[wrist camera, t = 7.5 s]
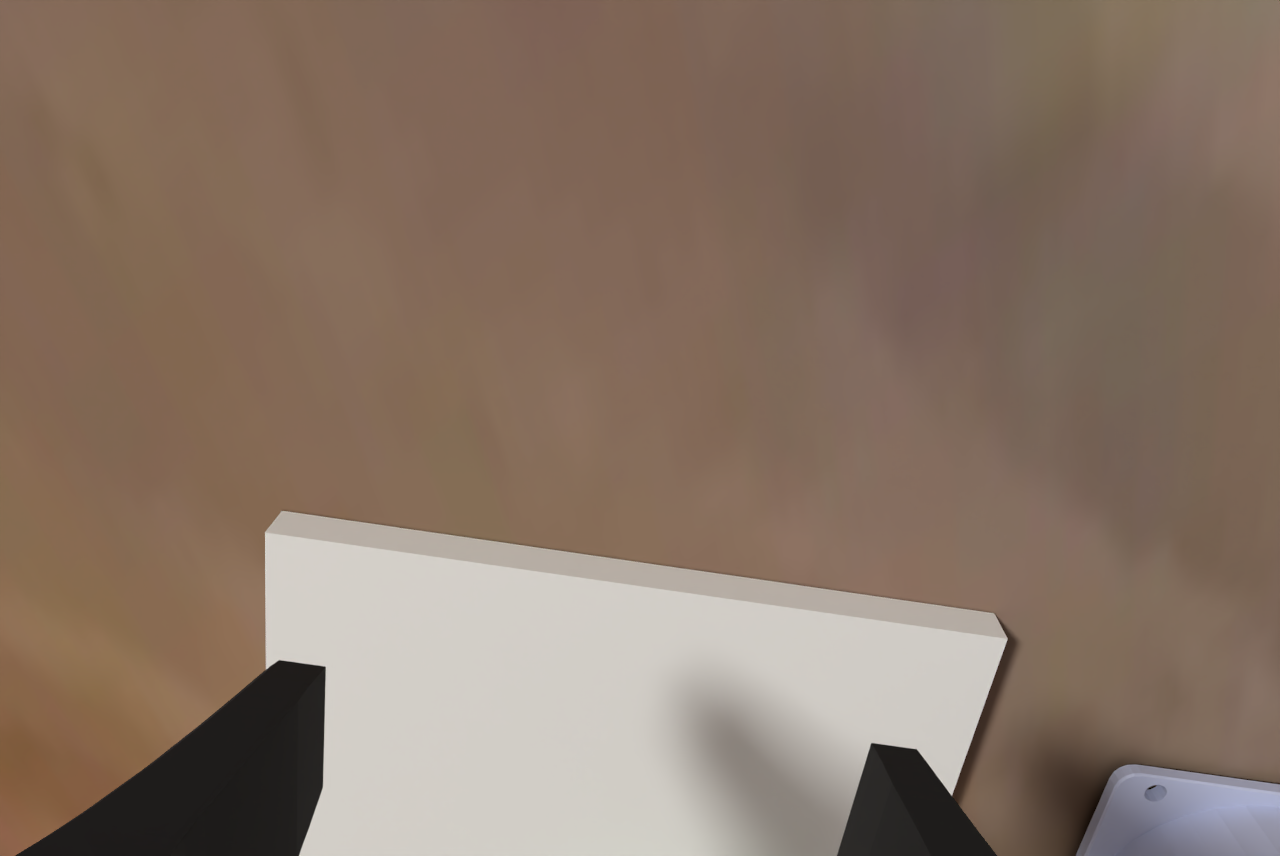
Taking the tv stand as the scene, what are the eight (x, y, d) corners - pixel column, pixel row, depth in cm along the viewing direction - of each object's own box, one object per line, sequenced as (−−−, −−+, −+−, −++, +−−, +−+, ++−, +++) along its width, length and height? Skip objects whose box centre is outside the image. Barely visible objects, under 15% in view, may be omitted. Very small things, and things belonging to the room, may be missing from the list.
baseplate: (994, 613, 23) (1009, 641, 22) (830, 1085, 30) (836, 1124, 29) (281, 510, 22) (263, 534, 21) (280, 1014, 29) (266, 1050, 28)
